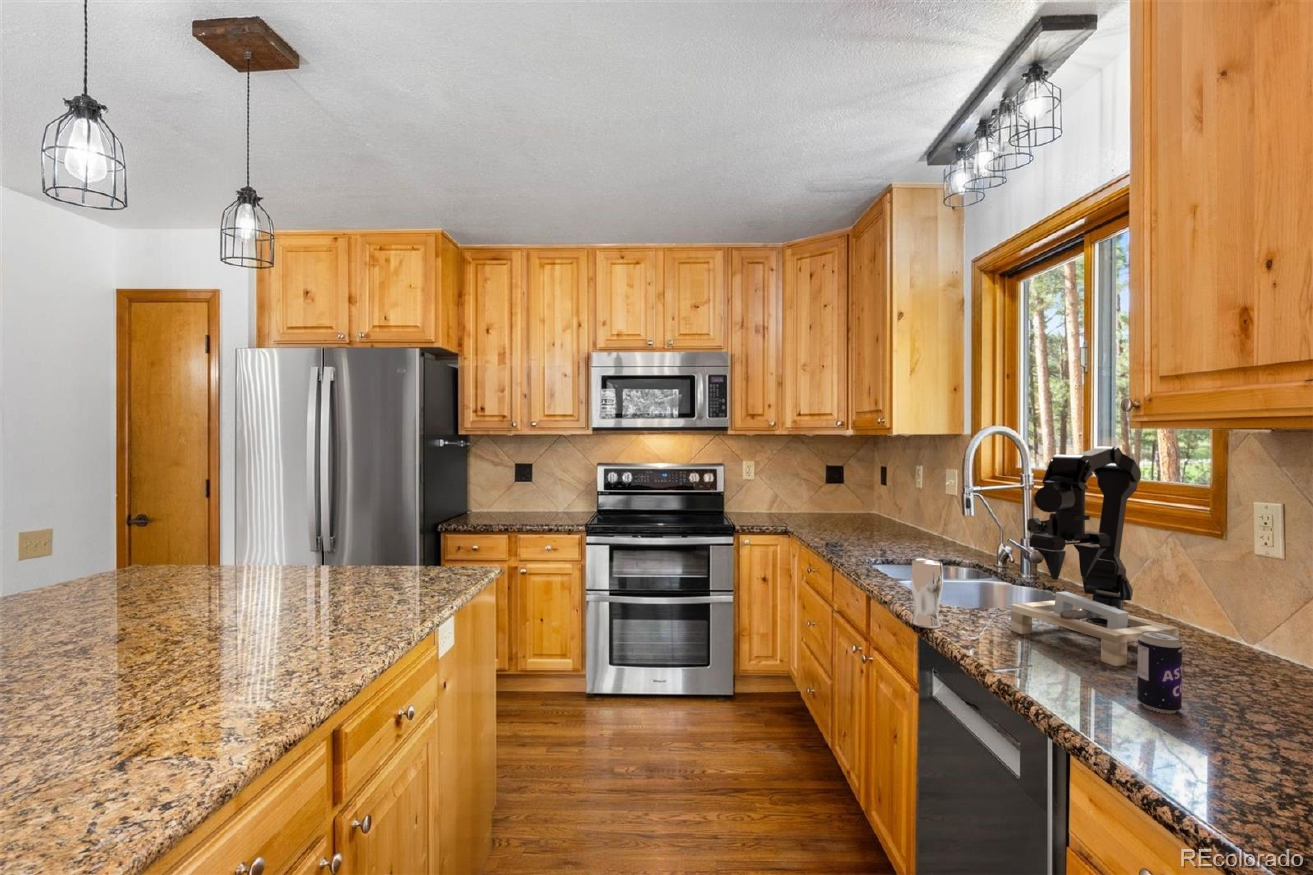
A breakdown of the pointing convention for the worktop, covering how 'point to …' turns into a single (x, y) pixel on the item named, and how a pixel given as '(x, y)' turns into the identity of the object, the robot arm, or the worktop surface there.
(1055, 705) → the worktop surface
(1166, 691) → the beverage can
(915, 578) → the beer glass
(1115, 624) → the long white beam
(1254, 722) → the worktop surface
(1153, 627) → the shelf
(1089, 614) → the rod
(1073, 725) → the worktop surface
